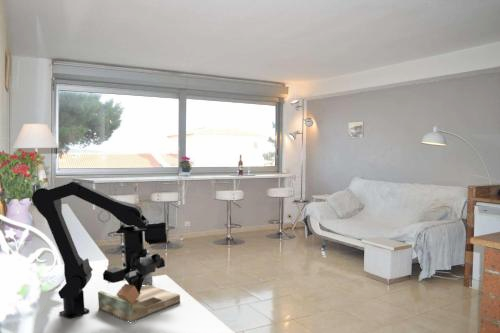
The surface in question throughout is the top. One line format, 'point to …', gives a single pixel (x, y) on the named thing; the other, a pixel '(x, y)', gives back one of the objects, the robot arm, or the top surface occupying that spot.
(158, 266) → the robot arm
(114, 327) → the top surface
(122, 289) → the block
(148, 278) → the energy drink
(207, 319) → the top surface
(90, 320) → the top surface
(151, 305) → the board
